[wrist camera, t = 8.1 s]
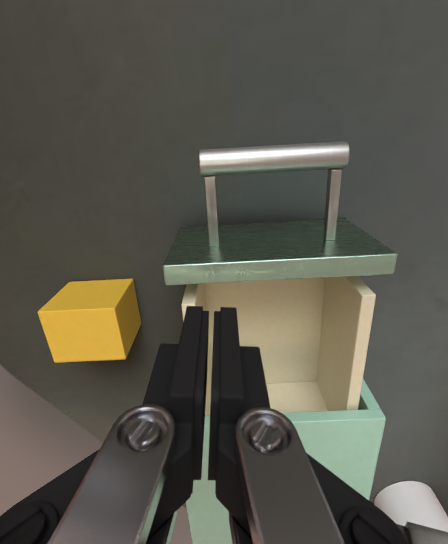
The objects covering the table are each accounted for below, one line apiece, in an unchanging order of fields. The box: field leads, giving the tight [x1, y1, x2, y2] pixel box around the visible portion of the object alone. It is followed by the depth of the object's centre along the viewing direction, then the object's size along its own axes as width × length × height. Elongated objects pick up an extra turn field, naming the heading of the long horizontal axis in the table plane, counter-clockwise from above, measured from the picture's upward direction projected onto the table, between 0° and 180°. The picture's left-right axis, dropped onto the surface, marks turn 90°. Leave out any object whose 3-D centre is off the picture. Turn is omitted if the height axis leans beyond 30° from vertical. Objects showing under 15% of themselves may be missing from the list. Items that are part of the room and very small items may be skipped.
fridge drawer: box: [163, 141, 397, 416], centre depth 22 cm, size 21×12×8 cm, turn 3°
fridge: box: [186, 379, 386, 544], centre depth 28 cm, size 17×14×10 cm
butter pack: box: [38, 279, 141, 362], centre depth 25 cm, size 4×6×5 cm
